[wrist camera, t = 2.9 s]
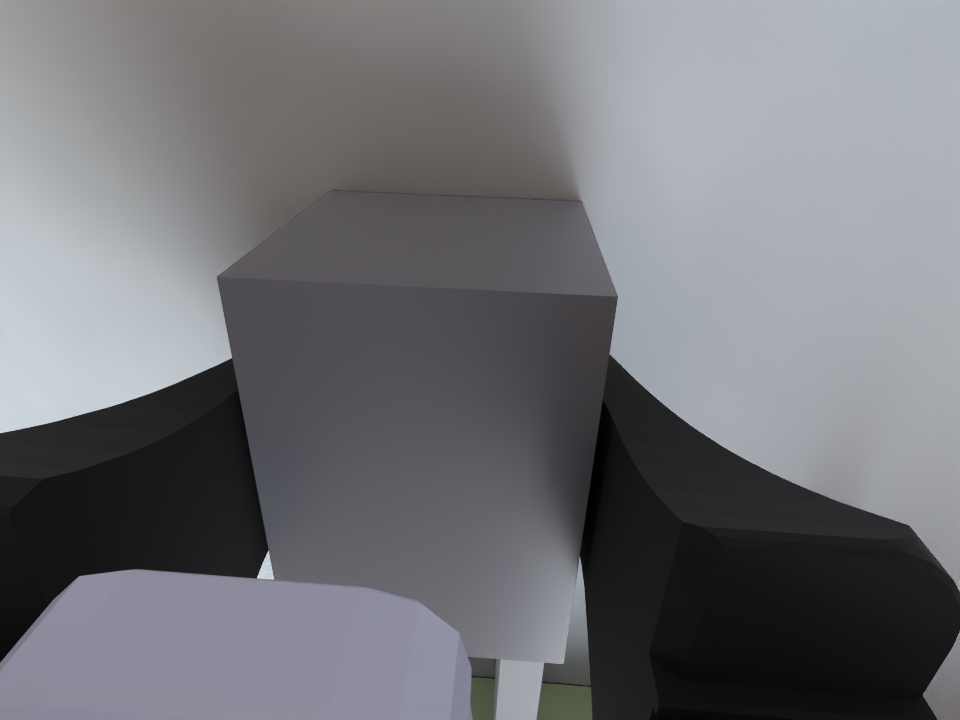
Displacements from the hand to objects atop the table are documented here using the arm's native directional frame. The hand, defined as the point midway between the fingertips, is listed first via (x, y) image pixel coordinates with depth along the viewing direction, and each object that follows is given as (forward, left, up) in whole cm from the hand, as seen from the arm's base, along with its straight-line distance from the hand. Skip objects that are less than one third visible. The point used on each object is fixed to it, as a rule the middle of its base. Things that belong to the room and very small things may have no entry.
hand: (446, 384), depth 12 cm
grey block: (0, 0, -1) cm, 1 cm away
